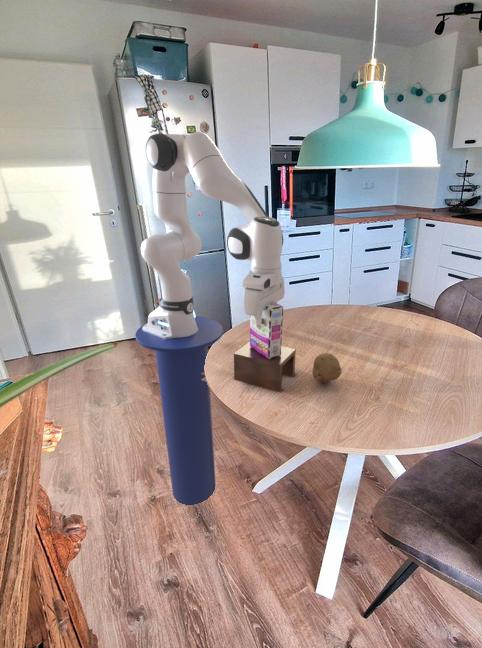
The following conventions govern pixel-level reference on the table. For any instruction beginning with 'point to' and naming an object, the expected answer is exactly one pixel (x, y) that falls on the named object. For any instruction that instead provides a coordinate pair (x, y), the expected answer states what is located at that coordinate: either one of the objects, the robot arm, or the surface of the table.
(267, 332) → the candy bar box
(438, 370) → the table surface
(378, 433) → the table surface
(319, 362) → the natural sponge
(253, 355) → the walnut shelf
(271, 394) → the table surface
